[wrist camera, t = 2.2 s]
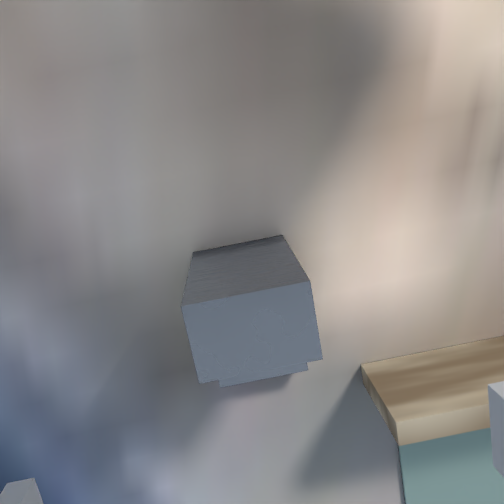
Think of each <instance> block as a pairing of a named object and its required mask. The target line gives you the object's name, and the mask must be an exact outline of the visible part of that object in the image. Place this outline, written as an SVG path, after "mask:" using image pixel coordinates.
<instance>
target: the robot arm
mask: <svg viewBox="0 0 504 504" xmlns="http://www.w3.org/2000/svg"><path fill="white" fill-rule="evenodd" d="M488 398H489V413H490V428H491V444H492V459H493V466H494V467H495V468H496V469H497V471H498V472H499V473H500V474H501V475H502V476H503V478H504V381H501V382H496V383H492V384H488ZM0 504H43V501H42V498H41V495H40V493H39V490H38V487H37V484H36V481H35V478H30V479H26V480H21V481H16V482H11V483H7V484H6V486H5V488H4V489H3V491H2V492H1V494H0Z"/></svg>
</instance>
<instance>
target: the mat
mask: <svg viewBox="0 0 504 504" xmlns="http://www.w3.org/2000/svg"><path fill="white" fill-rule="evenodd" d="M398 447H399V456H400V464H401V472H402V481H403V489H404V497H405V504H504V478H503V476H502V475H501V474H500V473H499V472H498V471H497V469H496V468H495V467H494V466H493V459H492V444H491V428H485V429H480V430H475V431H470V432H466V433H461V434H456V435H451V436H446V437H441V438H436V439H431V440H426V441H421V442H417V443H412V444H407V445H402V446H399V445H398Z"/></svg>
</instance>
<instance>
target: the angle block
mask: <svg viewBox="0 0 504 504" xmlns="http://www.w3.org/2000/svg"><path fill="white" fill-rule="evenodd" d="M181 309H182V313H183V317H184V322H185V326H186V330H187V334H188V339H189V343H190V347H191V351H192V355H193V360H194V364H195V368H196V372H197V376H198V381H199V384H201V383H206V382H211V381H216V380H218V381H219V385H220V388H222V387H227V386H232V385H237V384H242V383H247V382H252V381H257V380H262V379H267V378H272V377H277V376H282V375H287V374H292V373H297V372H302V371H307V370H308V366H307V362H311V361H316V360H321V359H323V358H322V352H321V345H320V339H319V333H318V326H317V320H316V314H315V308H314V301H313V295H312V289H311V283H310V280H309V278H308V276H307V275H306V273H305V271H304V270H303V268H302V267H301V265H300V263H299V262H298V260H297V258H296V257H295V255H294V253H293V252H292V250H291V248H290V247H289V245H288V244H287V242H286V240H285V239H284V237H283V235H280V236H274V237H269V238H264V239H259V240H254V241H249V242H244V243H238V244H233V245H228V246H223V247H218V248H213V249H208V250H202V251H197V252H193V255H192V260H191V264H190V268H189V273H188V277H187V282H186V286H185V290H184V295H183V299H182V304H181Z"/></svg>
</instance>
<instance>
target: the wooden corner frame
mask: <svg viewBox="0 0 504 504" xmlns="http://www.w3.org/2000/svg"><path fill="white" fill-rule="evenodd" d="M361 370H362V377H363V384H364V386H365V388H366V389H367V391H368V393H369V395H370V396H371V398H372V400H373V402H374V403H375V405H376V407H377V409H378V410H379V412H380V414H381V416H382V417H383V419H384V421H385V423H386V424H387V426H388V428H389V430H390V431H391V433H392V435H393V437H394V438H395V440H396V442H397V444H398V445H399V446H402V445H407V444H412V443H417V442H421V441H426V440H431V439H436V438H441V437H446V436H451V435H456V434H461V433H466V432H470V431H475V430H480V429H485V428H490V413H489V398H488V384H492V383H496V382H501V381H504V336H501V337H496V338H491V339H486V340H481V341H476V342H471V343H466V344H461V345H456V346H451V347H446V348H441V349H436V350H431V351H426V352H421V353H416V354H411V355H406V356H401V357H396V358H391V359H386V360H381V361H376V362H371V363H366V364H361Z"/></svg>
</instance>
